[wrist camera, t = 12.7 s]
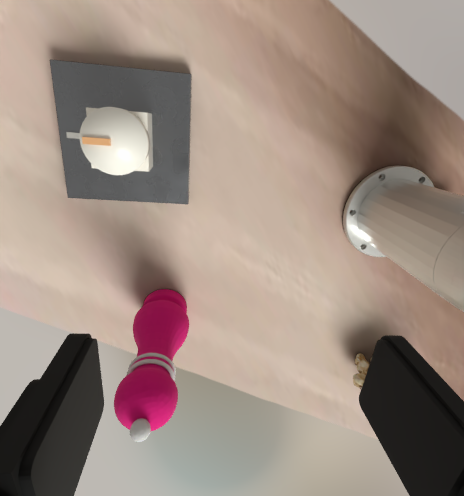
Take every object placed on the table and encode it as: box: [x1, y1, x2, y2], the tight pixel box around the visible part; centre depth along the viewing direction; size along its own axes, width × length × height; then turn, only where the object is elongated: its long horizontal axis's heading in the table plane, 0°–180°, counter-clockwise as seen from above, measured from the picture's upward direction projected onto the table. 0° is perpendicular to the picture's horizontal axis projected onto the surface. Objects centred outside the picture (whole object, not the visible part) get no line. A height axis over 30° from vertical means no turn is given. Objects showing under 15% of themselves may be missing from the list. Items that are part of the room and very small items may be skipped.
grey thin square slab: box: [50, 60, 192, 204], centre depth 33 cm, size 14×14×5 cm
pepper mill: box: [114, 289, 189, 442], centre depth 35 cm, size 7×7×20 cm
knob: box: [80, 107, 153, 175], centre depth 30 cm, size 6×6×6 cm
